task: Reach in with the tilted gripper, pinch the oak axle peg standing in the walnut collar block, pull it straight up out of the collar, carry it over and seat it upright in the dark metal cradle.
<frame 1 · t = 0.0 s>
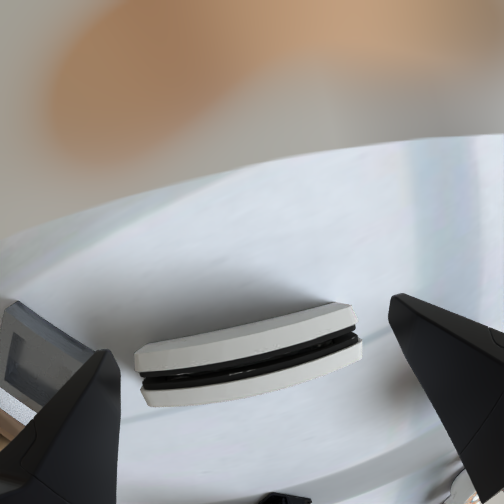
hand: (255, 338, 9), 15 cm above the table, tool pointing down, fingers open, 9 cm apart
walnut collar block: (13, 439, 25), on the table
white plastic device casing: (243, 335, 26), on the table
cosmetic set: (463, 474, 38), on the table
metal cradle: (45, 363, 24), on the table
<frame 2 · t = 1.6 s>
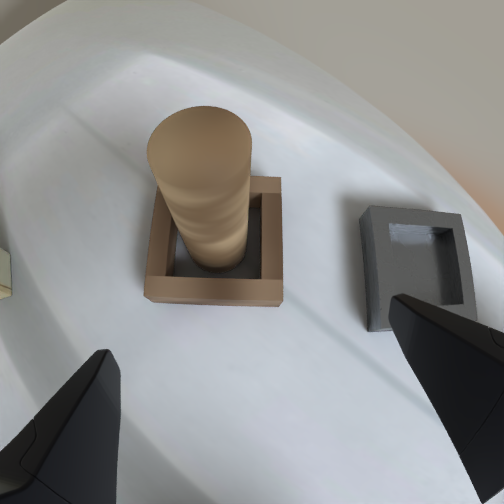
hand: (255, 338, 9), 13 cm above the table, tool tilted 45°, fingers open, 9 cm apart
walnut collar block: (217, 244, 24), on the table
metal cradle: (413, 273, 24), on the table
oak axle peg: (210, 208, 18), in the walnut collar block
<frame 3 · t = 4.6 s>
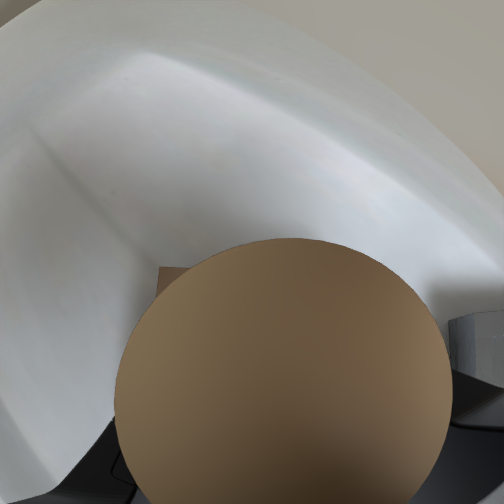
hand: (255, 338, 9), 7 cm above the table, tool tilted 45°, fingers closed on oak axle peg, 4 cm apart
walnut collar block: (255, 374, 15), on the table
metal cradle: (499, 384, 15), on the table
oak axle peg: (264, 382, 9), in the walnut collar block, touching gripper
when the fingers open (9 cm above the table, at t = 10.3 s): oak axle peg drops 1 cm, resting on metal cradle.
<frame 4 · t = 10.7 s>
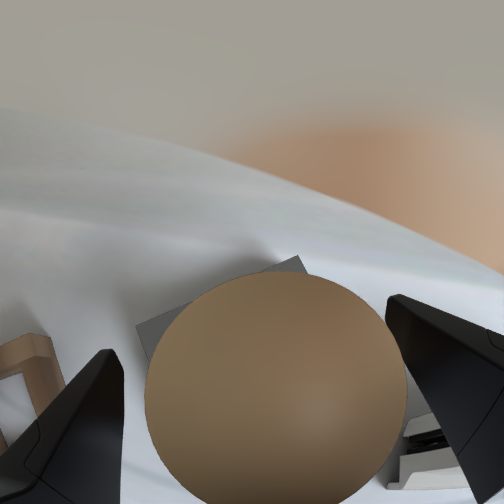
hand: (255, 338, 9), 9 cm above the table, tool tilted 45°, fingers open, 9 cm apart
walnut collar block: (25, 419, 15), on the table
white plastic device casing: (484, 439, 15), on the table
metal cradle: (254, 372, 17), on the table
oak axle peg: (260, 380, 10), in the metal cradle, point 7 cm above the table
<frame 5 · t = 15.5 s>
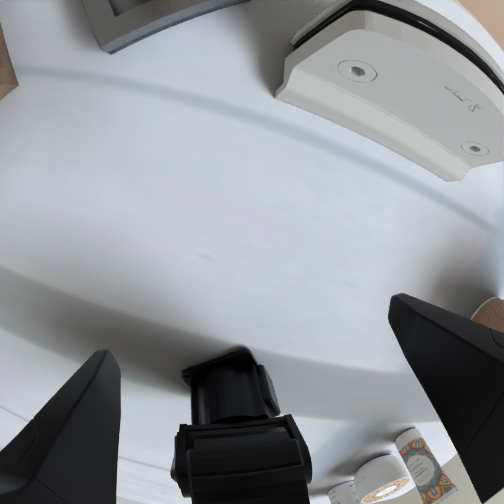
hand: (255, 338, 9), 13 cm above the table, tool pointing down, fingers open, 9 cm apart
white plastic device casing: (391, 95, 19), on the table
coffee cup: (482, 319, 32), on the table
cosmetic set: (371, 463, 44), on the table
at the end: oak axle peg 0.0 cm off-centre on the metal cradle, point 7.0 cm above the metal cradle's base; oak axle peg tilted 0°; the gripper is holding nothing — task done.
